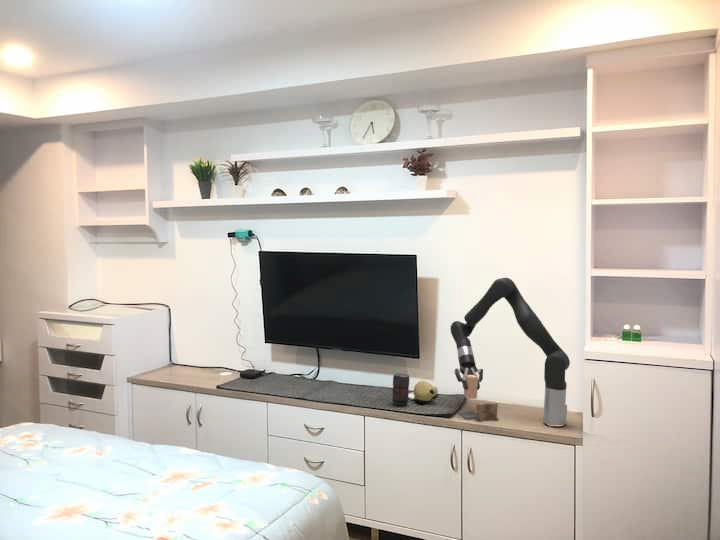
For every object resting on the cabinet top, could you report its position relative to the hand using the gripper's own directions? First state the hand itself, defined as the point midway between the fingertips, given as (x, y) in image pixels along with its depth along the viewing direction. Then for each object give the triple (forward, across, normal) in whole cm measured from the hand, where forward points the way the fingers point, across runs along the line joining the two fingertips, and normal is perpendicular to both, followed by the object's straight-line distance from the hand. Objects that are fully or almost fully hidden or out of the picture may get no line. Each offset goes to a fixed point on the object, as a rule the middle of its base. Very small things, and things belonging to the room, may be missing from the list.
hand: (472, 389), depth 276 cm
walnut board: (+12, +7, +7) cm, 15 cm away
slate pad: (+8, 0, +11) cm, 14 cm away
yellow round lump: (-7, -16, +27) cm, 32 cm away
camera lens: (-4, -30, +24) cm, 38 cm away
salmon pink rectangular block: (+2, 0, +4) cm, 5 cm away
